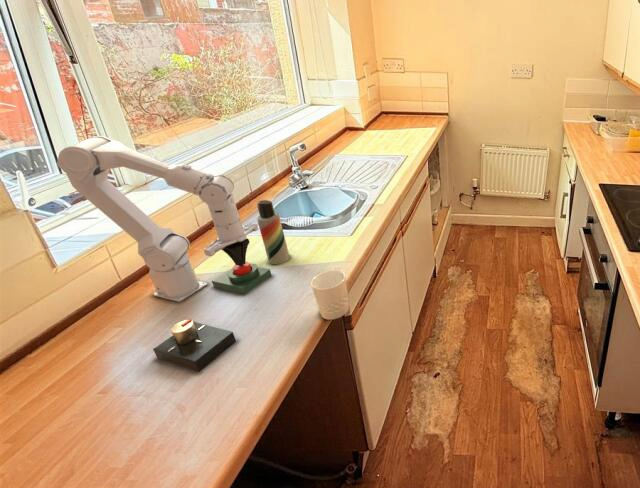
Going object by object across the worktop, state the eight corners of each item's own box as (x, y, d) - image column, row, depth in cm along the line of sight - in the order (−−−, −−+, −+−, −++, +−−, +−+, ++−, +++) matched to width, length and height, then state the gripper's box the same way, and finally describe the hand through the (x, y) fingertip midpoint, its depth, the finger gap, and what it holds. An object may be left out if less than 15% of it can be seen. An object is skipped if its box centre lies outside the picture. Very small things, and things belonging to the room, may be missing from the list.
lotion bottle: (264, 261, 123) (248, 203, 115) (282, 252, 127) (267, 195, 119) (276, 266, 120) (260, 207, 112) (293, 257, 125) (279, 199, 117)
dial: (185, 346, 88) (179, 333, 86) (171, 342, 88) (165, 329, 87) (202, 333, 91) (197, 320, 89) (188, 330, 92) (183, 317, 90)
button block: (213, 287, 111) (209, 275, 109) (241, 269, 119) (238, 258, 117) (245, 294, 108) (241, 282, 107) (271, 275, 116) (268, 264, 115)
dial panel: (157, 359, 88) (152, 348, 87) (196, 330, 96) (192, 320, 95) (199, 372, 85) (194, 361, 84) (236, 341, 93) (232, 331, 92)
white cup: (341, 297, 108) (335, 266, 104) (357, 309, 104) (351, 278, 99) (312, 312, 102) (305, 280, 98) (328, 326, 98) (320, 293, 94)
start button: (231, 274, 111) (229, 268, 110) (243, 266, 114) (241, 260, 113) (242, 277, 110) (240, 270, 109) (254, 268, 113) (252, 262, 112)
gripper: (213, 237, 98) (228, 282, 104) (261, 211, 111) (273, 252, 116) (191, 232, 100) (207, 277, 105) (241, 208, 112) (253, 249, 118)
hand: (240, 264), depth 111 cm, fingers closed
